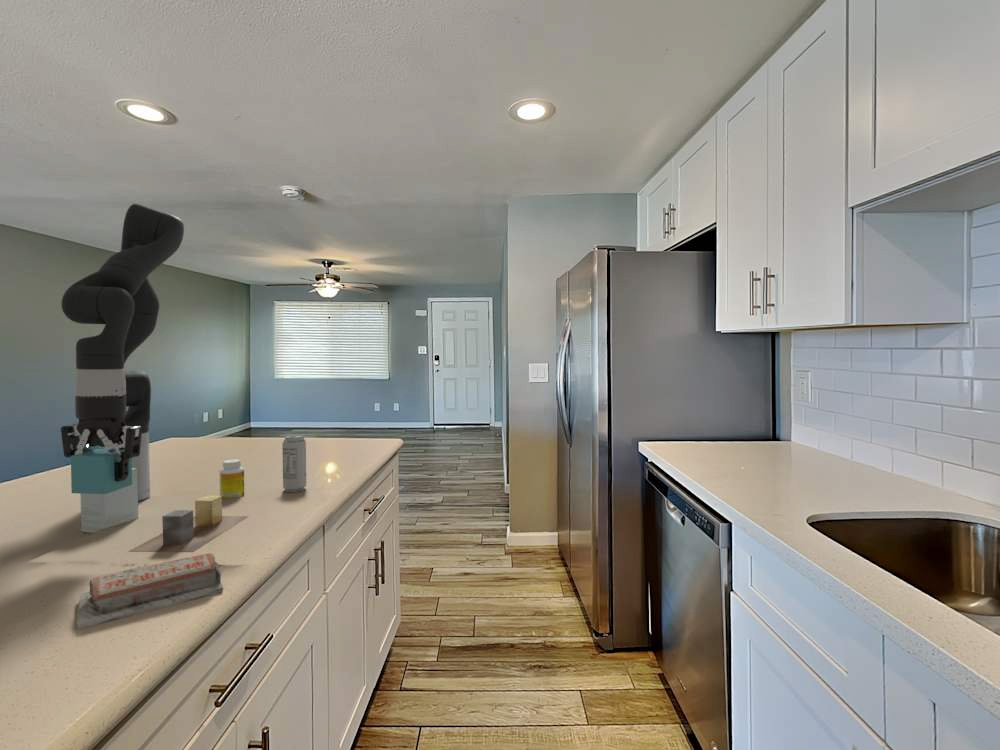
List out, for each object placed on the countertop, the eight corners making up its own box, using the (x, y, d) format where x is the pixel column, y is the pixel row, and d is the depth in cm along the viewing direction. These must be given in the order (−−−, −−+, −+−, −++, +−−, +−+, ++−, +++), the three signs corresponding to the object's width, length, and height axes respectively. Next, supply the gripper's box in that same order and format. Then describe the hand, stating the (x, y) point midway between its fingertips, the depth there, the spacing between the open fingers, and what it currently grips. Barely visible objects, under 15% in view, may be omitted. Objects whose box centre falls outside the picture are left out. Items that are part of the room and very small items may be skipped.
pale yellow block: (195, 526, 104) (194, 500, 104) (205, 520, 108) (205, 495, 108) (212, 526, 104) (212, 500, 104) (222, 520, 108) (221, 495, 108)
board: (128, 559, 91) (127, 521, 91) (195, 522, 111) (195, 491, 111) (193, 559, 91) (192, 522, 91) (248, 522, 111) (248, 491, 111)
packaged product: (213, 545, 87) (223, 565, 79) (213, 572, 87) (224, 594, 79) (78, 573, 76) (74, 599, 68) (79, 604, 76) (75, 633, 68)
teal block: (71, 493, 91) (70, 455, 91) (100, 483, 98) (99, 448, 97) (105, 494, 91) (105, 456, 91) (132, 484, 98) (131, 449, 97)
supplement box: (140, 524, 110) (138, 468, 109) (103, 536, 102) (102, 475, 102) (116, 520, 112) (115, 465, 111) (79, 531, 105) (78, 472, 104)
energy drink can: (310, 488, 139) (310, 435, 138) (291, 493, 134) (291, 439, 133) (297, 485, 142) (297, 433, 142) (278, 490, 137) (277, 436, 137)
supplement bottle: (246, 500, 128) (246, 461, 127) (222, 504, 124) (221, 464, 124) (241, 495, 132) (241, 457, 132) (218, 499, 129) (217, 460, 128)
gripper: (45, 393, 90) (47, 484, 91) (123, 395, 90) (124, 486, 91) (80, 390, 97) (82, 474, 98) (152, 391, 97) (154, 475, 98)
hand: (102, 479), depth 94 cm, fingers closed on teal block, 6 cm apart
